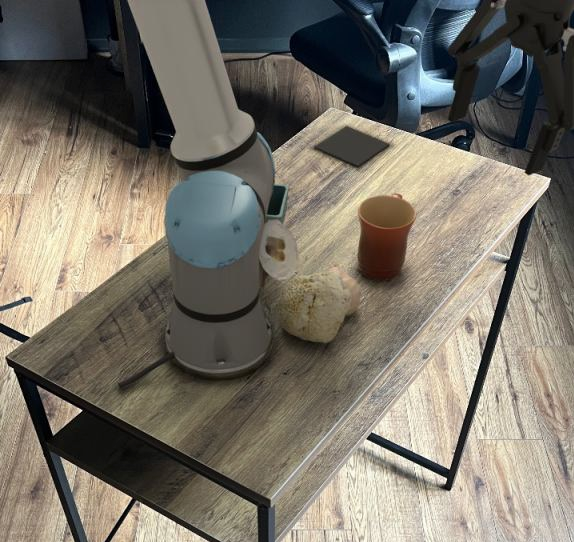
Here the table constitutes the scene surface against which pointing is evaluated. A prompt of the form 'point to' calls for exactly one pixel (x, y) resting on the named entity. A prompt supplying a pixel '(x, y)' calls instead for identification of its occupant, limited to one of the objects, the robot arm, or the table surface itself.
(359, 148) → the mat
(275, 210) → the flower pot
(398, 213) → the mug
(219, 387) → the table surface
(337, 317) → the decorative item
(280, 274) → the figurine
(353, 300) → the garlic bulb
